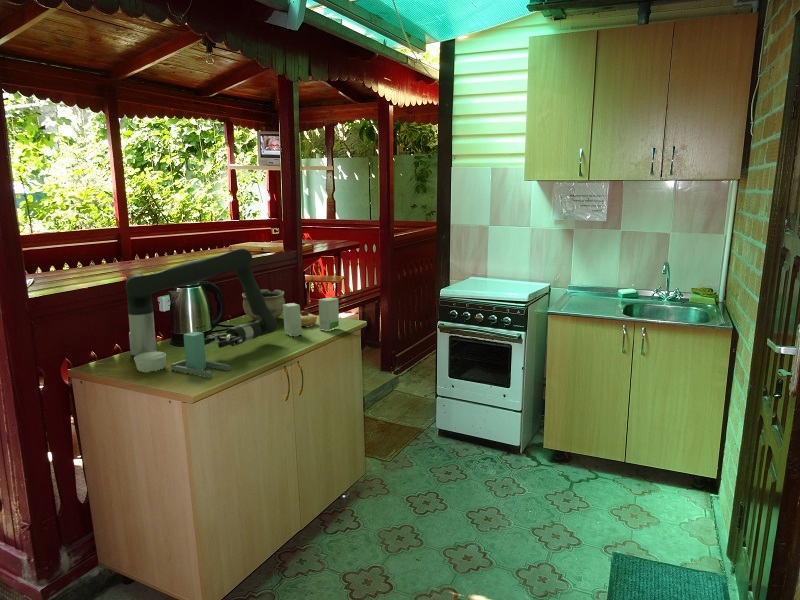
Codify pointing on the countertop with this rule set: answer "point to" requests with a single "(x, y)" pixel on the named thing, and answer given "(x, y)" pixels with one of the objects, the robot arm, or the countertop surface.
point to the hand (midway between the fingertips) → (210, 343)
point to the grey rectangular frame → (182, 368)
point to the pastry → (307, 318)
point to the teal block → (195, 350)
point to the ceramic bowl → (267, 303)
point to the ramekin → (150, 361)
